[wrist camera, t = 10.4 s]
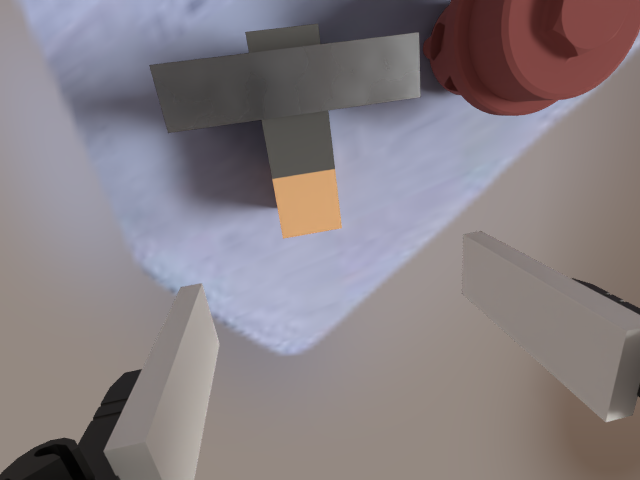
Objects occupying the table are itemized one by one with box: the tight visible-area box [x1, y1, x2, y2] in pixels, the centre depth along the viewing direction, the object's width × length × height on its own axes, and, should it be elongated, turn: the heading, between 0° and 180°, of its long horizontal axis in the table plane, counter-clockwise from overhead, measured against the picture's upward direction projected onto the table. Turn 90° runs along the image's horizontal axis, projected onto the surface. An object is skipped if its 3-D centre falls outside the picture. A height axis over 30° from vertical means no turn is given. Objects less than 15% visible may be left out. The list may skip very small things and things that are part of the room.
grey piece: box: [149, 32, 420, 133], centre depth 22 cm, size 3×13×11 cm, turn 98°
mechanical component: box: [423, 0, 640, 116], centre depth 22 cm, size 12×10×10 cm
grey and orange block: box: [245, 24, 342, 239], centre depth 24 cm, size 12×4×8 cm, turn 8°
